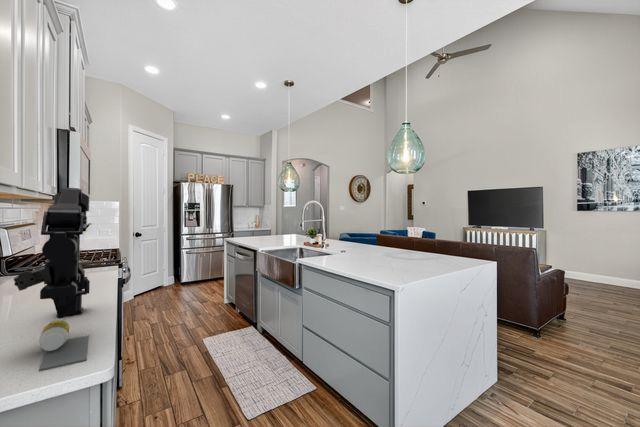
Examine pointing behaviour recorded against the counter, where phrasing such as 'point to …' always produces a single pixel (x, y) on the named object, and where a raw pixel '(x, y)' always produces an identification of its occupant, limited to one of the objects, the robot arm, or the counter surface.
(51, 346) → the supplement bottle
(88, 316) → the counter surface
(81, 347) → the mat
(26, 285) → the robot arm
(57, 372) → the counter surface
